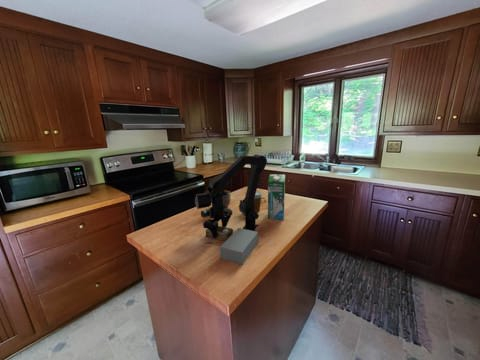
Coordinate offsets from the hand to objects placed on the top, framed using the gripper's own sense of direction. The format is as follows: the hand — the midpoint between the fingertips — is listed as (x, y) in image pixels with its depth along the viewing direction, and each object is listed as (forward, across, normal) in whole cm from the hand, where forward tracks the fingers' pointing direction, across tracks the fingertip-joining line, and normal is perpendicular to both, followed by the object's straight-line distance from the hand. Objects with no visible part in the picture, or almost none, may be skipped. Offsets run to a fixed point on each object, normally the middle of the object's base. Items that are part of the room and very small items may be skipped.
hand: (219, 233), depth 103 cm
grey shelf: (+1, +7, +15) cm, 17 cm away
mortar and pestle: (+1, -26, -13) cm, 29 cm away
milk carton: (+1, -33, +20) cm, 39 cm away
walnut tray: (+1, 0, 0) cm, 1 cm away
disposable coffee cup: (+1, -36, +5) cm, 36 cm away
